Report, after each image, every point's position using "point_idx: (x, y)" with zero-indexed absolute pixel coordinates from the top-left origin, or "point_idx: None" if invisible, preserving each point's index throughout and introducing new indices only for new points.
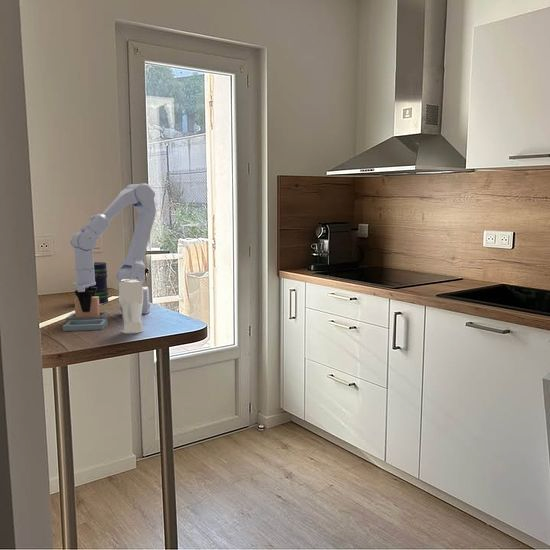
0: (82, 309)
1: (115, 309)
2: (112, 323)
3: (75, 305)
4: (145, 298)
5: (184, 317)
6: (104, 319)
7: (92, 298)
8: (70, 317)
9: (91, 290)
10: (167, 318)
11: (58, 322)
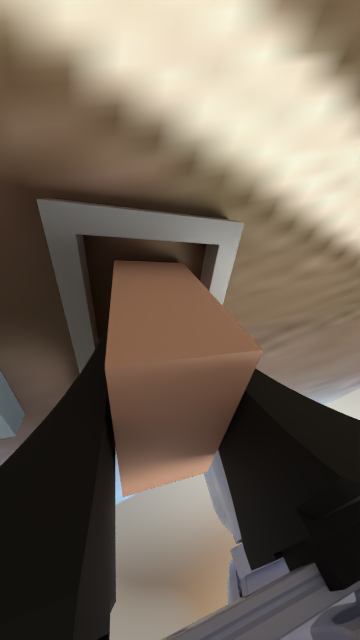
0: (98, 348)
1: (307, 359)
2: (39, 422)
3: (112, 315)
4: (211, 495)
5: (123, 498)
6: (3, 430)
7: (120, 478)
8: (60, 238)
9: (253, 516)
10: (116, 486)
11: (62, 106)
